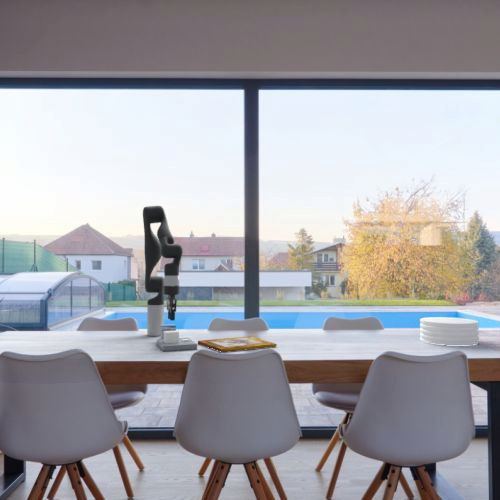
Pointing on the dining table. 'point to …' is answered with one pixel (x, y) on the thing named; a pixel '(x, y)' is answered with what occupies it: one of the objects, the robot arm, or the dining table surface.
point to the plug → (171, 336)
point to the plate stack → (449, 330)
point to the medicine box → (166, 329)
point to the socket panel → (177, 345)
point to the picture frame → (236, 343)
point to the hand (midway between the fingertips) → (171, 319)
